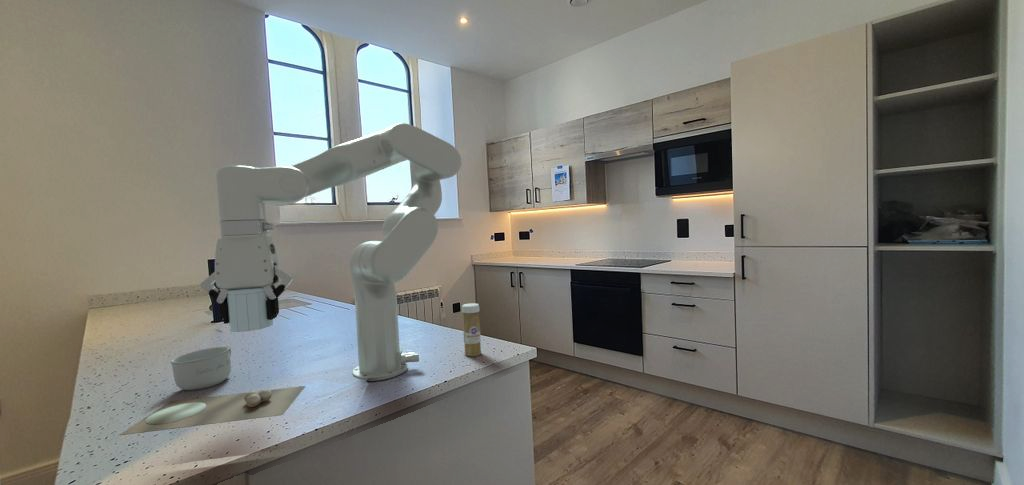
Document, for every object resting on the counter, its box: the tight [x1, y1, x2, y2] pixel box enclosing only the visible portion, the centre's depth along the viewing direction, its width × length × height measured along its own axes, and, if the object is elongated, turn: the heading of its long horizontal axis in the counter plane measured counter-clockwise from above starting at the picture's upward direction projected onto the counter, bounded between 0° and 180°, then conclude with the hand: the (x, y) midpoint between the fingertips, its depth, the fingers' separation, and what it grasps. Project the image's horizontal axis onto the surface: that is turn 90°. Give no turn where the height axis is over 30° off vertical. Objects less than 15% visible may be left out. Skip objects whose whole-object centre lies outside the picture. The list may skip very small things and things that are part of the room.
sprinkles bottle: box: [461, 302, 482, 357], centre depth 107 cm, size 5×5×14 cm
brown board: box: [119, 385, 306, 436], centre depth 79 cm, size 26×14×3 cm, turn 101°
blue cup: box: [227, 287, 274, 333], centre depth 80 cm, size 7×7×8 cm
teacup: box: [170, 344, 232, 391], centre depth 95 cm, size 14×11×8 cm
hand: (251, 319), depth 80 cm, fingers closed on blue cup, 7 cm apart
